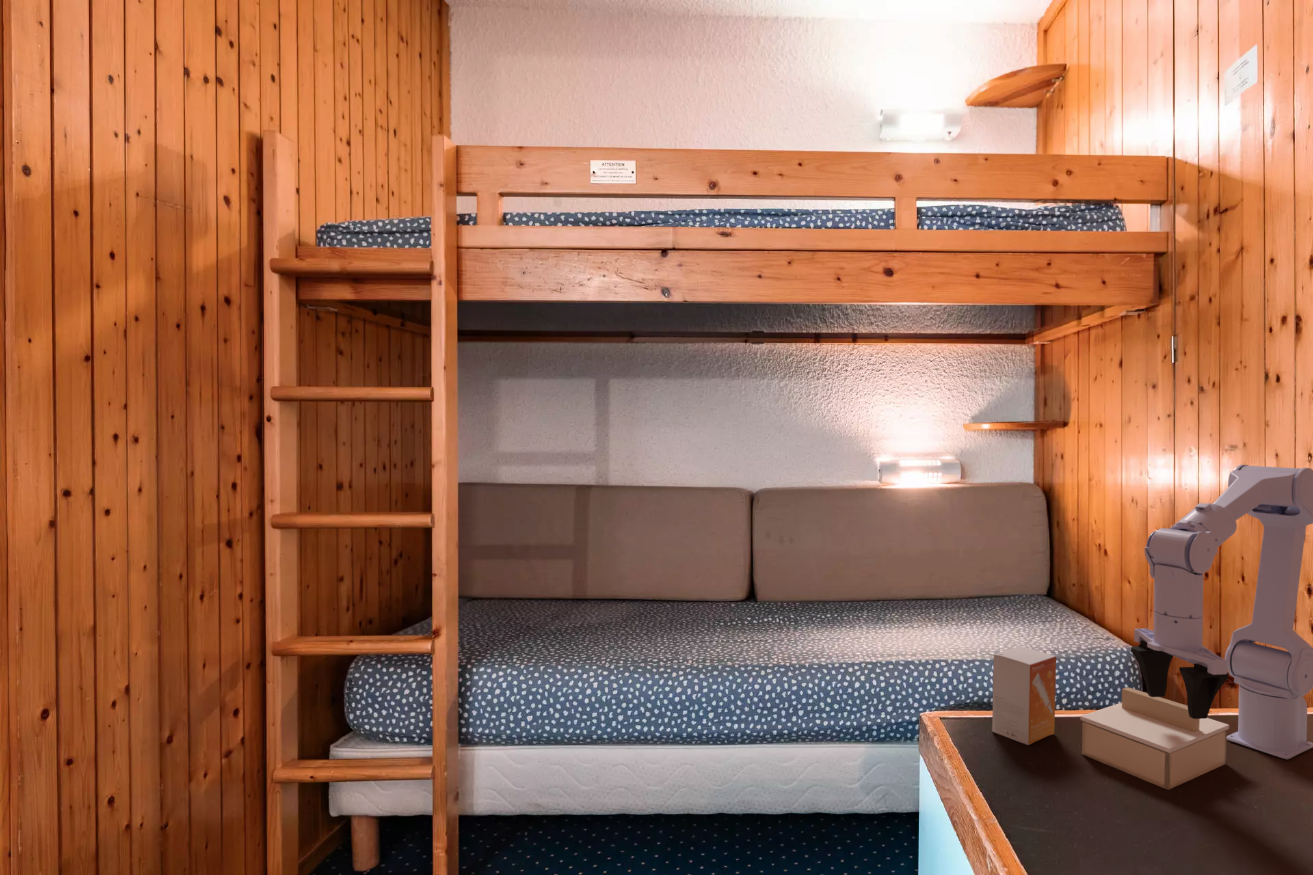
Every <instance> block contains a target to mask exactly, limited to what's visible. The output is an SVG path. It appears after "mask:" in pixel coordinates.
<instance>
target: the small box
mask: <svg viewBox="0 0 1313 875" xmlns="http://www.w3.org/2000/svg"><path fill="white" fill-rule="evenodd" d="M992 662H993V663H992V664H993V666H992V668H993V670H992V671H993V672H992V673H993V674H992V679H993V680H992V718H991V719H992V720H991V721H992V723H991V724H992V726H991V731H992V732H993V733H995V734H997V735H1000V736H1002V737H1005V738H1008V739H1011V740H1014V741H1016V742H1019V743H1021V744H1023V745H1027V746H1030V745H1032V744H1034V743H1035V742H1038V741H1040V740H1042V739H1044V738H1046V737H1049V736H1052V735H1054V734H1055V728H1056V727H1055V726H1056V725H1055V722H1056V721H1055V720H1056V719H1055V717H1056V715H1055V714H1056V682H1057V681H1056V680H1057V679H1056V678H1057V677H1056V675H1057V655H1053V654H1051V653H1046V652H1043V651H1040V650H1037V649H1034V648H1033V649H1032V648H1029V647H1025V646H1023V645H1020V646H1016V647H1013V648H1008V649H1006V650H1005V649H1004V650H1003V651H1001V652H1000V651H999V652H998V653H994V654H993V661H992Z"/></svg>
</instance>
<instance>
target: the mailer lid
mask: <svg viewBox="0 0 1313 875" xmlns="http://www.w3.org/2000/svg"><path fill="white" fill-rule="evenodd" d="M1079 717H1080V721H1082V722H1084V721H1085V722H1087V723H1090V724H1093V725H1095V726H1098V727H1101V728H1104V729H1106V730H1109V731H1112V732H1114V733H1117V734H1120V735H1122V736H1125V737H1128V738H1130V739H1133V740H1136V741H1138V742H1141V743H1144V744H1147V745H1149V746H1152V747H1155V748H1157V749H1160V750H1163V751H1165V752H1168V753H1171V752H1174V751H1176V750H1179V749H1181V748H1183V747H1186V746H1188V745H1191V744H1193V743H1196V742H1198V741H1201V740H1203V739H1205V738H1208V737H1210V736H1213V735H1215V734H1218V733H1220V732H1223V731H1225V730H1226V731H1227V730H1229V729H1230V724H1227V723H1225V722H1221V721H1218V720H1215V719H1212V718H1209V717H1207V718H1206V719H1193V718H1191V717H1190V716H1189V713H1188V705H1187V704H1184V703H1183V704H1182V703H1179V702H1176V701H1173V700H1170V699H1167V698H1164V697H1150V696H1149V695H1148V692H1146V691H1141V690H1138V689H1135V688H1131V687H1130V686H1129V687H1124V688H1122V689H1121V702H1119V703H1116V704H1113V705H1110V706H1107V707H1106V706H1105V707H1104V708H1101V709H1098V710H1095V711H1092V712H1089V713H1085V714H1082V715H1080V716H1079Z"/></svg>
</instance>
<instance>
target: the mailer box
mask: <svg viewBox="0 0 1313 875" xmlns="http://www.w3.org/2000/svg"><path fill="white" fill-rule="evenodd" d="M1081 729H1082V730H1081V731H1082V732H1081V734H1082V736H1081V755H1082V756H1085V757H1088V758H1090V759H1092V760H1095V761H1096V762H1097V761H1098V762H1100V763H1102V764H1104V765H1107V766H1109V767H1112V768H1114V769H1116V770H1119V771H1121V772H1124V773H1125V774H1128V775H1131V776H1133V777H1137V779H1138V778H1139V779H1140V780H1143V781H1146V782H1148V783H1150V784H1153V785H1155V786H1158V787H1160V788H1163V789H1166V790H1168V791H1169V790H1172V789H1173V788H1175V787H1177V786H1180V785H1182V784H1184V783H1186V782H1188V781H1191V780H1194V779H1195V778H1198V777H1200V776H1201V775H1204V774H1206V773H1208V772H1210V771H1213V770H1215V769H1217V768H1220V767H1222V766H1224V765H1226V764H1227V741H1228V740H1227V736H1228V734H1227V732H1228V731H1227V730H1225V731H1223V732H1220V733H1218V734H1215V735H1213V736H1210V737H1208V738H1205V739H1203V740H1201V741H1198V742H1196V743H1193V744H1191V745H1188V746H1186V747H1183V748H1181V749H1179V750H1176V751H1174V752H1171V753H1168V752H1165V751H1163V750H1160V749H1157V748H1155V747H1152V746H1149V745H1147V744H1144V743H1141V742H1138V741H1136V740H1133V739H1130V738H1128V737H1125V736H1122V735H1120V734H1117V733H1114V732H1112V731H1109V730H1106V729H1104V728H1101V727H1098V726H1095V725H1093V724H1090V723H1087V722H1085V721H1082V726H1081Z"/></svg>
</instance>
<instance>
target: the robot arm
mask: <svg viewBox="0 0 1313 875" xmlns="http://www.w3.org/2000/svg"><path fill="white" fill-rule="evenodd" d="M1227 483H1228V484H1227V488H1226V489H1225V490H1224V491H1223V492H1222V493H1221V494H1220V496H1218V497H1217V498H1216V499H1215V500H1214V501H1213V502H1212V503H1209V502H1207V503H1203V502H1199V503H1197V504H1196V505H1195V507H1194V508H1193V509H1192V510H1191V511H1189V512H1187V513H1186V515H1184V516H1182V518H1180V520H1178V521H1177V522H1176V523H1174V524H1173V525H1172V526H1171V527H1170V528H1166V527H1162V528H1159V529H1157V530H1155V531H1153V532H1151V533H1150V534H1149V536H1148V538H1147V540H1146V544H1145V547H1144V556H1145V560H1146V561H1147V563H1148V566H1149V575H1150V578H1152V579H1153V630H1152V629H1148V628H1134V632H1133V633H1134V635H1133V641H1134V642H1135V643H1139V644H1138V646H1137V645H1136V646H1135V645H1134V646H1131V647H1130V652H1131V654H1132V655H1133V656H1134V659H1135V660H1136V662H1137V664H1138V666H1139V668H1140V671H1141V673H1142V677H1143V681H1144V684H1145V688H1146V693H1148V695H1149V696H1150V697H1161V698H1164V697H1165V696H1166V694H1167V693H1166V692H1167V688H1168V686H1167V685H1168V674H1169V669H1170V666H1171V662H1172V660H1173V658H1174V657H1175V658H1178V659H1180V660H1182V661H1185V662H1187V663H1189V664H1192V665H1193V666H1182V667H1181V666H1180V667H1179V673H1180V675H1181V678H1182V680H1183V682H1184V685H1185V686H1184V687H1185V691H1186V703H1187V704H1186V706H1188V713H1189V716H1190V717H1191V718H1193V719H1206V718H1208V716H1209V714H1210V710H1211V707H1212V704H1213V703H1214V700H1215V697H1216V695H1217V694H1218V692H1219V691H1220V689H1221V687H1222V686H1224V684H1225V683H1226V682H1227V680H1229V678H1230V676H1231V677H1233V678H1234V679H1233V683H1234V684H1237V685H1238V714H1237V715H1238V720H1237V728H1238V730H1237V731H1236V732H1233V733H1230V734H1229V735H1228V734H1227V741H1230V742H1233V743H1236V744H1239V745H1242V746H1244V747H1248V748H1251V749H1254V750H1257V751H1259V752H1262V753H1265V754H1266V753H1267V754H1268V755H1272V756H1275V757H1278V758H1280V759H1282V760H1283V759H1285V760H1289V759H1292V758H1293V757H1296V756H1297V755H1300V754H1302V753H1304V752H1306V751H1308V750H1310V749H1312V748H1313V743H1312V742H1311V741H1307V738H1308V737H1307V732H1308V731H1307V730H1308V727H1307V726H1308V704H1307V702H1306V699H1305V697H1304V696H1306V695H1307V694H1309V693H1310V692H1311V691H1312V690H1313V646H1312V645H1311V644H1310V643H1308V642H1307V641H1306V640H1305V639H1304V638H1303V637H1302V636H1300V635H1299V633H1297V632H1296V631H1295V629H1294V627H1295V626H1294V625H1295V617H1296V609H1297V601H1298V594H1299V585H1300V577H1301V570H1302V561H1303V555H1304V547H1305V546H1304V545H1305V540H1306V537H1305V536H1306V532H1307V530H1306V529H1307V526H1309V525H1312V524H1313V469H1312V468H1311V467H1302V468H1299V467H1282V466H1281V467H1278V466H1262V465H1261V466H1260V465H1257V466H1256V465H1249V464H1239V465H1237V466H1236V467H1235V468H1233V470H1232V471H1230V472H1229V476H1228V482H1227ZM1245 515H1248V516H1250V517H1253V518H1255V519H1257V520H1259V522H1260V523H1261V524H1262V526H1263V535H1262V541H1261V550H1260V555H1259V556H1260V558H1259V565H1258V572H1257V580H1256V587H1255V596H1254V605H1253V611H1252V619H1251V623H1249V624H1247V625H1245V626H1242V627H1240V628H1238V629H1236V630H1234V631H1233V632H1232V635H1231V638H1230V641H1229V645H1228V646H1227V648H1226V651H1225V654H1224V658H1222V657H1221V656H1219V655H1218V654H1215V653H1214V652H1212V651H1211V650H1210V649H1208V648H1207V647H1206V646H1204V645H1203V631H1204V630H1203V629H1204V628H1203V627H1204V622H1203V621H1204V573H1206V572H1208V571H1210V569H1211V567H1212V565H1213V562H1214V559H1215V557H1216V555H1218V551H1219V549H1218V548H1219V547H1220V546H1221V545H1222V544H1224V542H1226V541H1227V540H1228V539H1229V538H1231V536H1233V535H1234V534H1235V533H1236V531H1237V526H1238V525H1237V521H1238V520H1239V519H1240V518H1242V517H1244V516H1245ZM1257 642H1258V643H1262V644H1258V643H1257ZM1264 644H1267V645H1269V646H1267V645H1264ZM1271 646H1274V647H1271ZM1275 647H1278V648H1279V649H1278V648H1275ZM1280 648H1282V649H1284V650H1282V649H1280Z"/></svg>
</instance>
